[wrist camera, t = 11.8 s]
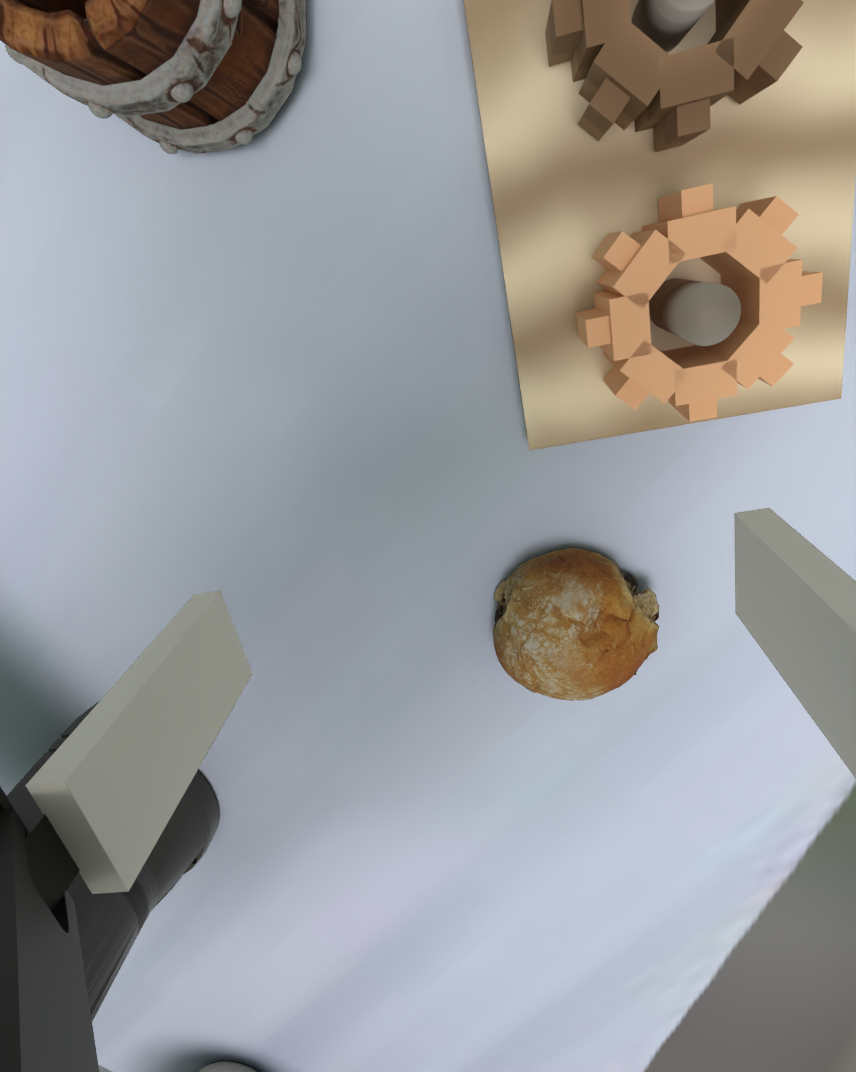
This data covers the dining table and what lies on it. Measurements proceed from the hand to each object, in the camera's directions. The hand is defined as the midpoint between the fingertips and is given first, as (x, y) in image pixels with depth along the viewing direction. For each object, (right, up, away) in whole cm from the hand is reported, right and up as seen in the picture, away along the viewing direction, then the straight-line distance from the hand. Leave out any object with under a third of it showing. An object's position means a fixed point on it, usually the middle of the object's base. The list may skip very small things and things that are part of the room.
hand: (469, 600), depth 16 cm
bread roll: (+9, -3, +25) cm, 27 cm away
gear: (+11, +13, +15) cm, 23 cm away
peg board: (+10, +19, +14) cm, 26 cm away
